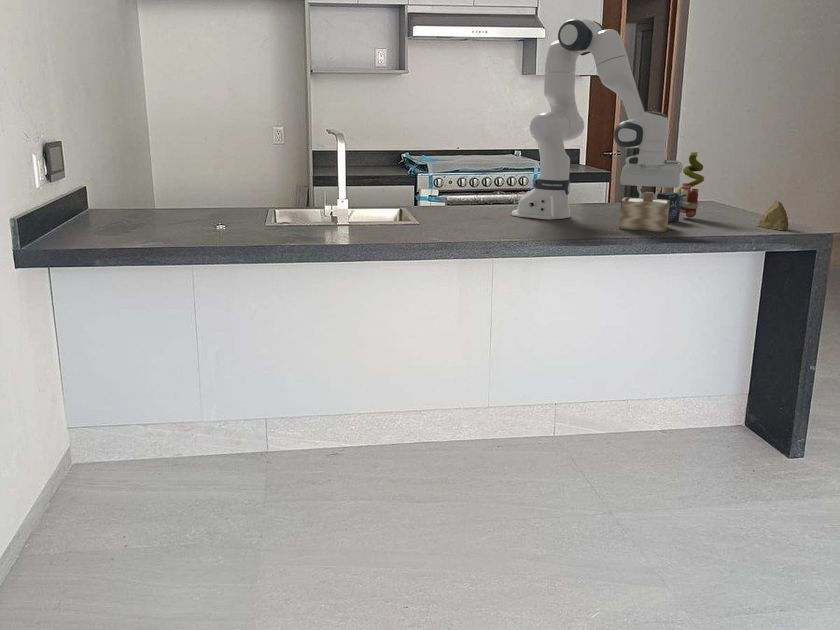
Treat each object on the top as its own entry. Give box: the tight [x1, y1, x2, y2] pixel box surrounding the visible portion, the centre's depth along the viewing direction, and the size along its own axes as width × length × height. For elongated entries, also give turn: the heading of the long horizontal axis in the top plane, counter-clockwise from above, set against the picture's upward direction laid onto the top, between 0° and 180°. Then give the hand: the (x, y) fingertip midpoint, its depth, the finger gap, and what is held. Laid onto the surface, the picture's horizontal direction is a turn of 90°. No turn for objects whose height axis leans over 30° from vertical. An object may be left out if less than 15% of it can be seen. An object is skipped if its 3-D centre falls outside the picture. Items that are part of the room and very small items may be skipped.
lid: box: [629, 191, 667, 203], centre depth 280 cm, size 13×8×5 cm, turn 71°
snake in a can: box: [675, 151, 705, 218], centre depth 301 cm, size 12×10×25 cm
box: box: [657, 191, 682, 223], centre depth 297 cm, size 8×6×11 cm
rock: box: [757, 199, 789, 231], centre depth 285 cm, size 11×9×10 cm
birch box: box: [618, 197, 670, 233], centre depth 282 cm, size 16×10×10 cm, turn 71°
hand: (647, 199), depth 280 cm, fingers closed on lid, 3 cm apart
